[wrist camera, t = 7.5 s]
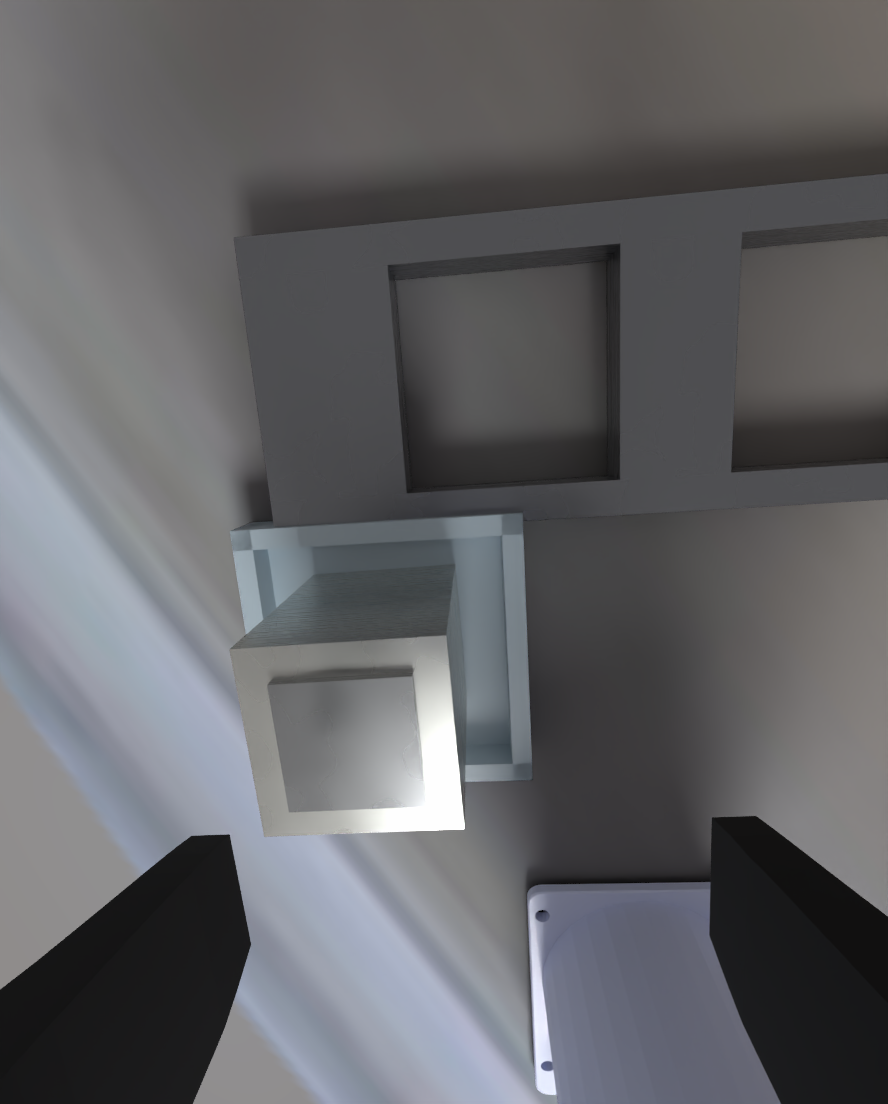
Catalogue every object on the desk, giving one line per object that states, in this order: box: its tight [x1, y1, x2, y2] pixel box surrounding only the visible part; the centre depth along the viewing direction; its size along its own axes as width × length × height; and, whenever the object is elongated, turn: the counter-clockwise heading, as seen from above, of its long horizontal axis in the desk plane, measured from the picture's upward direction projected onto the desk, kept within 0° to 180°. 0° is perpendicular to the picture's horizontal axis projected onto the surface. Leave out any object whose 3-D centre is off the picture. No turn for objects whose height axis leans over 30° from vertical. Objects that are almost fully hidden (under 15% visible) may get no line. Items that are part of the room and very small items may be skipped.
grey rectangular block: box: [230, 564, 467, 837], centre depth 14 cm, size 4×4×6 cm
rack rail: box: [234, 174, 888, 527], centre depth 15 cm, size 8×26×1 cm, turn 94°
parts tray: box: [230, 512, 533, 782], centre depth 17 cm, size 8×8×2 cm
